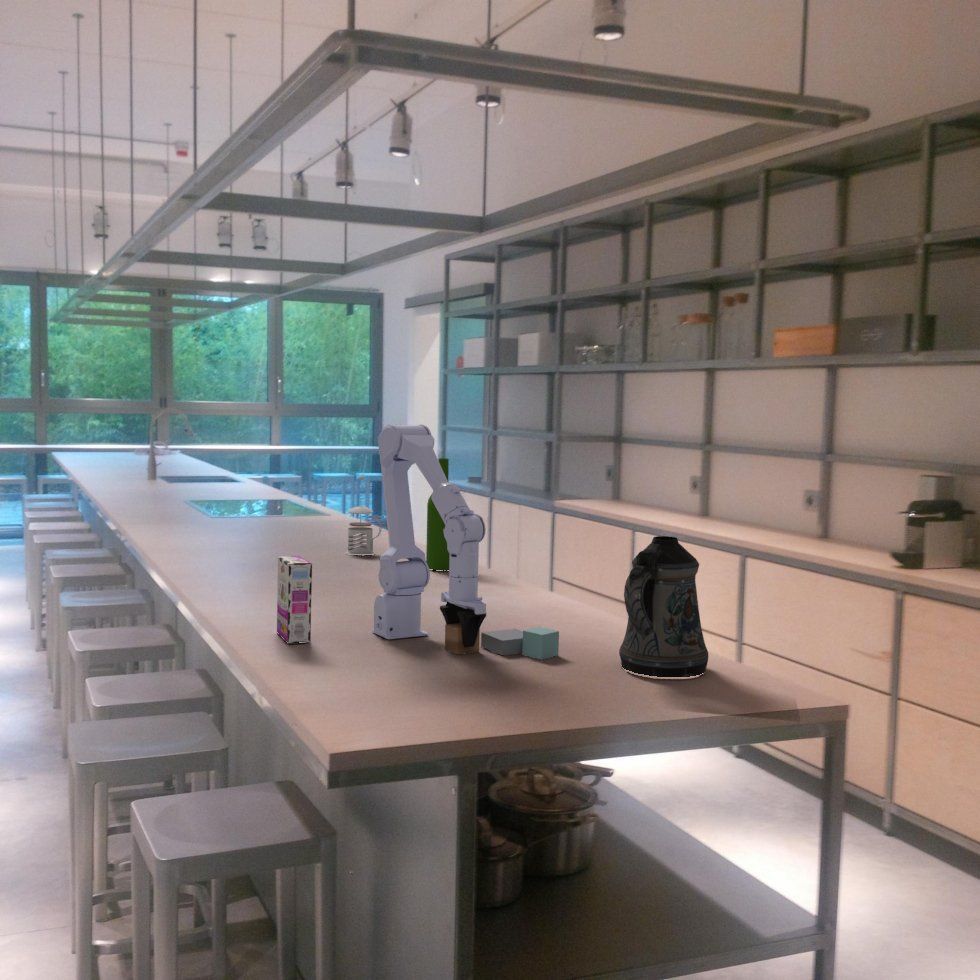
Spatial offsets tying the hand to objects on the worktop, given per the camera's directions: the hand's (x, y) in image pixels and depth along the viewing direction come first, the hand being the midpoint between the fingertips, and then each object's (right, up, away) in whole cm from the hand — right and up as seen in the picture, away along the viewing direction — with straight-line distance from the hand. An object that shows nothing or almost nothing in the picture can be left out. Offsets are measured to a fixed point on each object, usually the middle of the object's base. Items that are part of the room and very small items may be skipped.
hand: (462, 643), depth 206 cm
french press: (-35, +10, +126) cm, 131 cm away
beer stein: (+38, -4, -12) cm, 40 cm away
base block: (+9, -1, +2) cm, 10 cm away
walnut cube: (0, -1, 0) cm, 1 cm away
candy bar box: (-35, 0, +7) cm, 35 cm away
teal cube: (+15, -2, -2) cm, 16 cm away
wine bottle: (-9, +7, +100) cm, 100 cm away
